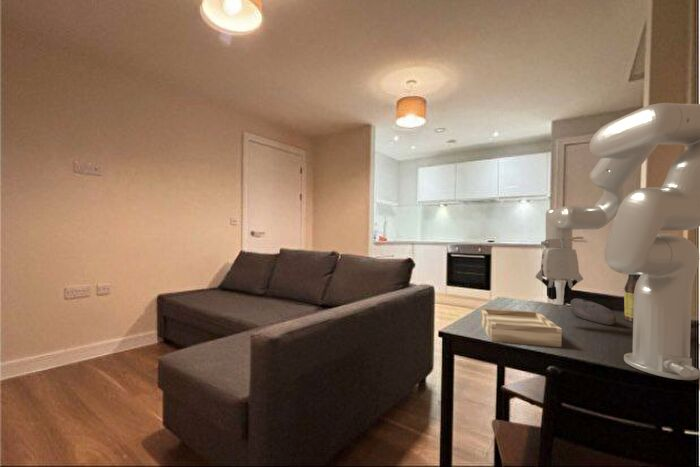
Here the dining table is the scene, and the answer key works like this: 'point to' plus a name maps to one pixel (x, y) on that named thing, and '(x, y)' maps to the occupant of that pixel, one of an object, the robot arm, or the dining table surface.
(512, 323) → the wooden tray
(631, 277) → the sauce bottle
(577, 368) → the dining table surface
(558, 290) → the milkshake
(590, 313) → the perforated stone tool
